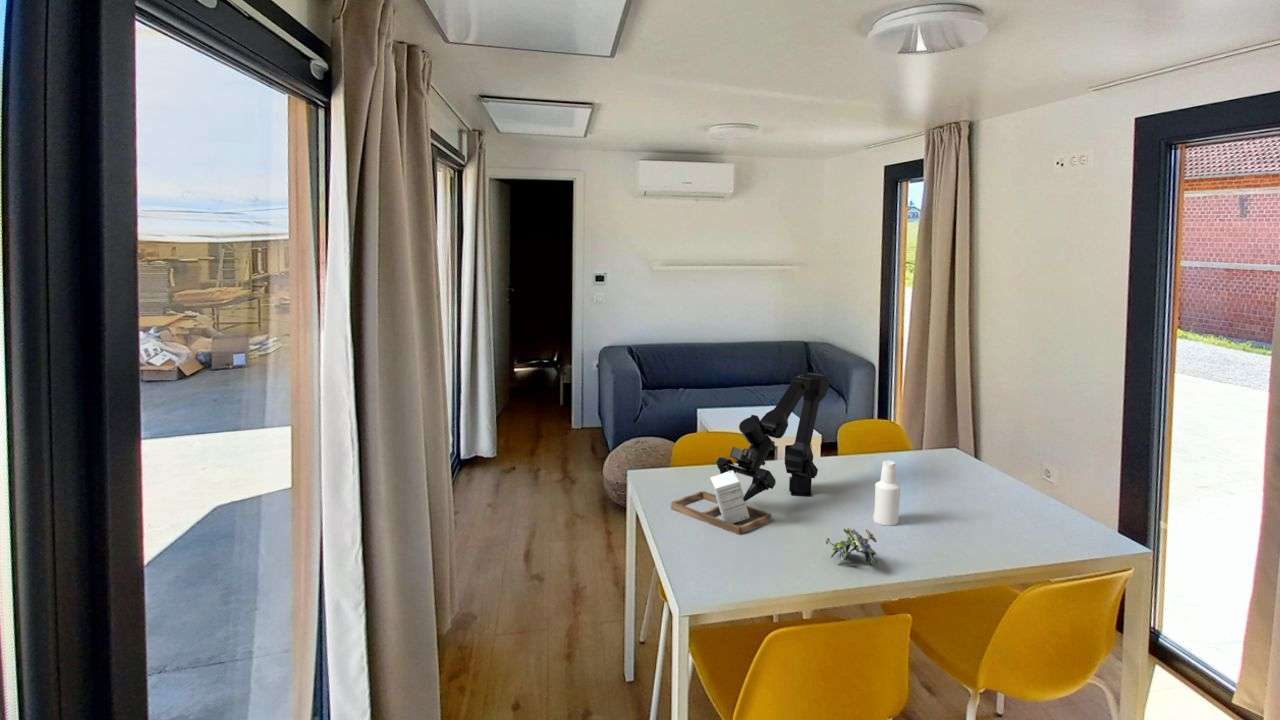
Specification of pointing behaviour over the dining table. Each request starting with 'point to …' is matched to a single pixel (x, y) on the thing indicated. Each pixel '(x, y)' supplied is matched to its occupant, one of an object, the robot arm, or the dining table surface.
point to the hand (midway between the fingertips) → (731, 496)
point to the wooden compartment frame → (708, 515)
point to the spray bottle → (887, 496)
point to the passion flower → (855, 546)
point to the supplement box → (730, 497)
